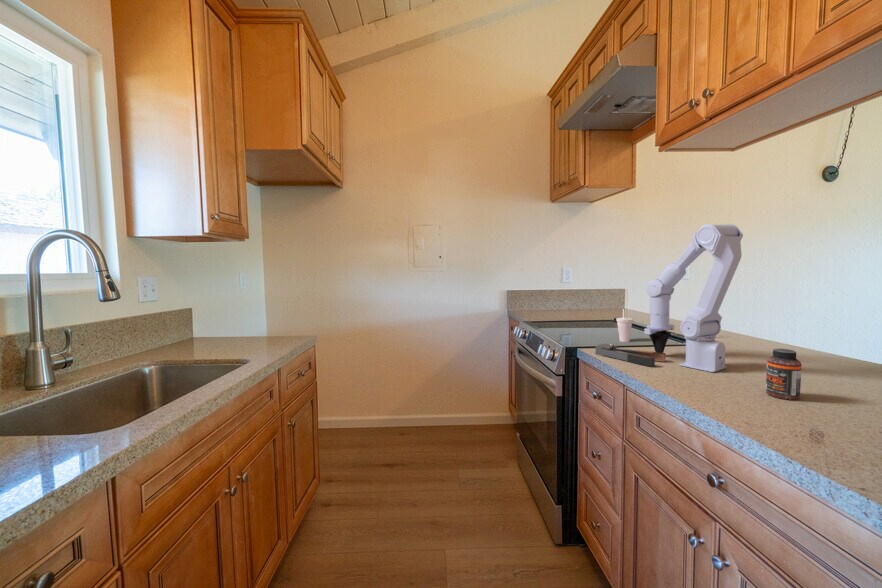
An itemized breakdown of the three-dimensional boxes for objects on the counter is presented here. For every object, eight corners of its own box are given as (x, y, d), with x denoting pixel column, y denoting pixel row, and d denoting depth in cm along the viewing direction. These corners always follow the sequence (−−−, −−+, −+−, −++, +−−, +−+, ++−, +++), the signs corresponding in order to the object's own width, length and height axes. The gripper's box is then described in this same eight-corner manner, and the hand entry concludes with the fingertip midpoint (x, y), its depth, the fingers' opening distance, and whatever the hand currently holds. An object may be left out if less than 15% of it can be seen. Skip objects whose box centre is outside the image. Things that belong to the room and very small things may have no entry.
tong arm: (665, 360, 117) (665, 352, 117) (664, 362, 115) (664, 354, 115) (609, 353, 128) (609, 346, 128) (607, 355, 126) (607, 348, 126)
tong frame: (659, 365, 112) (659, 352, 112) (651, 367, 110) (651, 354, 110) (602, 352, 131) (602, 341, 131) (594, 354, 129) (594, 343, 128)
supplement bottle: (759, 394, 86) (761, 349, 85) (774, 390, 88) (775, 346, 87) (791, 402, 80) (793, 354, 79) (805, 398, 82) (807, 351, 81)
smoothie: (612, 340, 150) (612, 308, 149) (622, 338, 153) (623, 307, 152) (626, 343, 144) (626, 309, 143) (636, 341, 147) (636, 308, 146)
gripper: (660, 311, 129) (659, 347, 130) (635, 315, 122) (635, 352, 123) (680, 313, 123) (680, 350, 124) (656, 317, 116) (655, 357, 117)
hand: (659, 352), depth 123 cm, fingers closed
